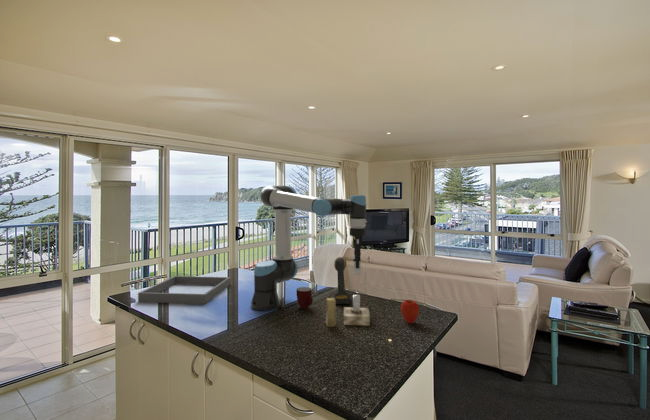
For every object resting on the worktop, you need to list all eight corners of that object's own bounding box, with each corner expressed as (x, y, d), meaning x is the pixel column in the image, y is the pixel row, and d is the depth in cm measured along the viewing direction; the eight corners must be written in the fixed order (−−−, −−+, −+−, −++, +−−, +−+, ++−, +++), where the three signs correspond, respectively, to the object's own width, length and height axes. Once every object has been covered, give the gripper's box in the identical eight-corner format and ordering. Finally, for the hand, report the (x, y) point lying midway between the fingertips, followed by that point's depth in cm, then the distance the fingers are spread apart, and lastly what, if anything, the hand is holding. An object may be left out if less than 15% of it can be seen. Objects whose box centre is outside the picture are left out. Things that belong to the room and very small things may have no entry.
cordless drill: (350, 295, 192) (350, 253, 191) (349, 306, 173) (350, 260, 171) (335, 294, 193) (335, 253, 192) (332, 305, 173) (333, 259, 172)
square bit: (327, 327, 145) (327, 300, 145) (325, 323, 149) (326, 298, 148) (335, 326, 146) (335, 300, 145) (333, 323, 149) (333, 297, 149)
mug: (318, 308, 169) (318, 289, 168) (307, 312, 163) (307, 293, 162) (303, 304, 176) (304, 286, 175) (293, 307, 170) (293, 289, 169)
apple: (396, 320, 153) (396, 298, 153) (411, 318, 156) (411, 296, 156) (407, 327, 145) (408, 304, 145) (422, 324, 149) (423, 301, 148)
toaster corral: (138, 301, 177) (138, 293, 177) (174, 283, 215) (174, 275, 215) (205, 303, 175) (205, 294, 174) (230, 284, 212) (230, 277, 212)
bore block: (343, 324, 148) (343, 316, 148) (343, 315, 160) (343, 307, 160) (369, 325, 147) (369, 316, 147) (367, 315, 159) (368, 307, 159)
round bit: (352, 321, 152) (353, 296, 152) (352, 318, 155) (352, 294, 155) (359, 321, 152) (360, 296, 151) (359, 318, 155) (359, 294, 155)
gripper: (366, 230, 141) (366, 278, 142) (364, 225, 165) (363, 266, 166) (349, 230, 141) (348, 277, 142) (349, 224, 166) (349, 265, 167)
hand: (356, 271), depth 154 cm, fingers open, 13 cm apart
